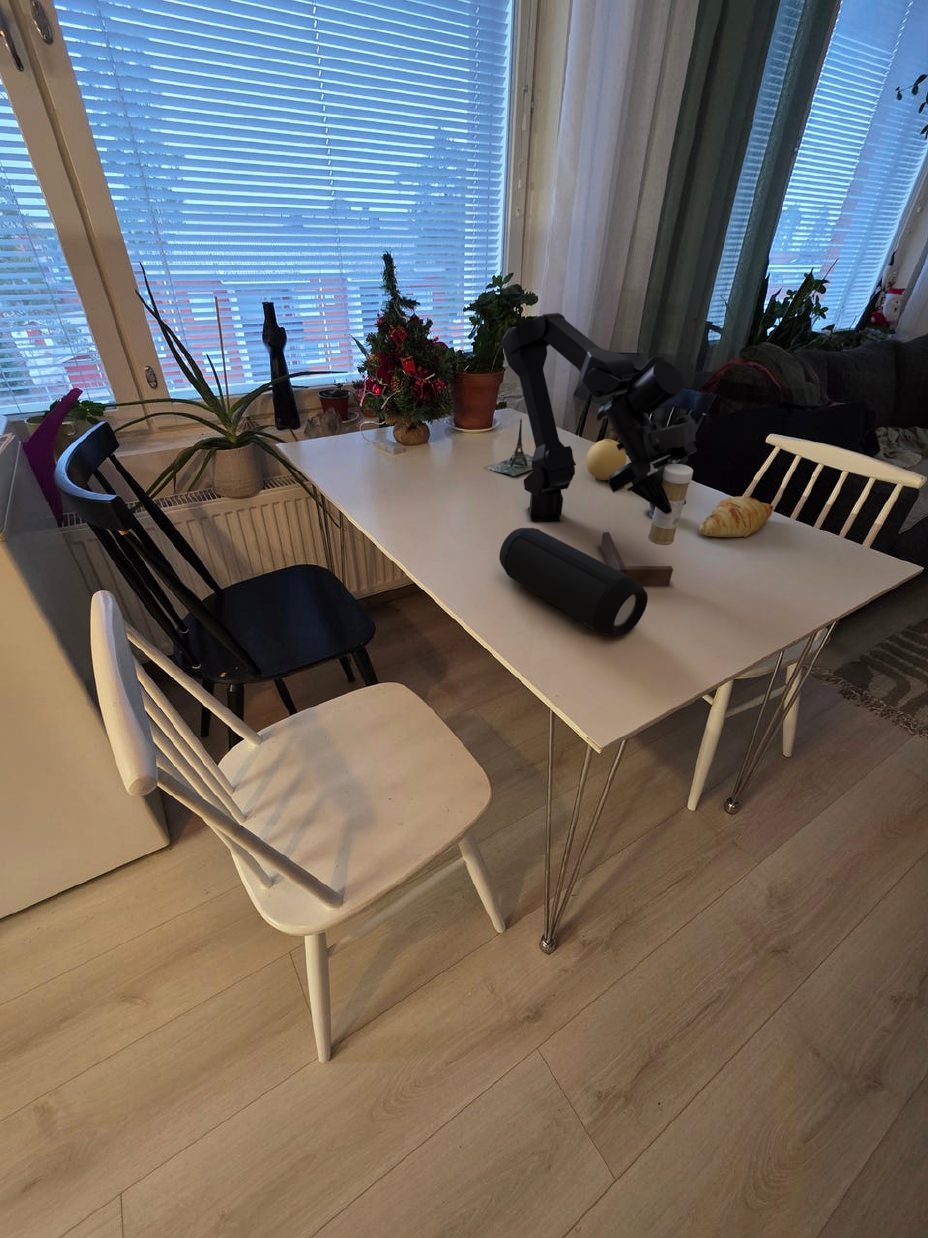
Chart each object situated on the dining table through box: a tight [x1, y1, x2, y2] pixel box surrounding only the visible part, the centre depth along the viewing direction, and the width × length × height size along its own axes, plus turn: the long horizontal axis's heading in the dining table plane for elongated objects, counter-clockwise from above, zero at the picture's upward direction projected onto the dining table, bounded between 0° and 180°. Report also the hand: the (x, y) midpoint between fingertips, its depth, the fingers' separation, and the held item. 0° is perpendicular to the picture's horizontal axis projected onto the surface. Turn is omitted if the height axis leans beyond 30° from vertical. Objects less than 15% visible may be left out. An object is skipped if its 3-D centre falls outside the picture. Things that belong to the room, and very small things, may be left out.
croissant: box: [698, 495, 774, 538], centre depth 111 cm, size 21×10×8 cm, turn 119°
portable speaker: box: [499, 527, 649, 638], centre depth 87 cm, size 26×10×10 cm, turn 38°
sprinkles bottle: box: [647, 464, 694, 546], centre depth 91 cm, size 5×5×13 cm
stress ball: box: [585, 438, 627, 481], centre depth 133 cm, size 10×10×10 cm
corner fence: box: [599, 531, 674, 587], centre depth 99 cm, size 9×14×4 cm, turn 0°
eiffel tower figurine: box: [486, 418, 534, 477], centre depth 139 cm, size 15×10×13 cm
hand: (676, 508), depth 90 cm, fingers closed on sprinkles bottle, 4 cm apart
